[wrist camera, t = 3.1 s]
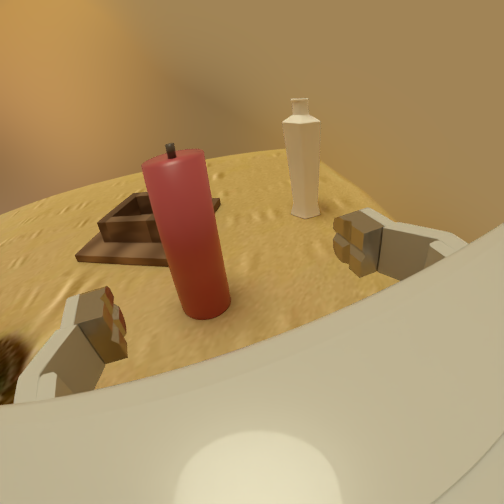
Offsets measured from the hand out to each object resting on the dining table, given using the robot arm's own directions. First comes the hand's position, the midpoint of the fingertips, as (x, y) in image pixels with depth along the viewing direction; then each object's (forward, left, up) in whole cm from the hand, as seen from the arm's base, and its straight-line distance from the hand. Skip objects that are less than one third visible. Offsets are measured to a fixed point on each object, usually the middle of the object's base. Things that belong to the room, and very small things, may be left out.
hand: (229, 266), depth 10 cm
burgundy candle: (-7, +10, -12) cm, 17 cm away
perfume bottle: (+1, +28, -12) cm, 31 cm away
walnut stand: (-20, +23, -12) cm, 33 cm away
